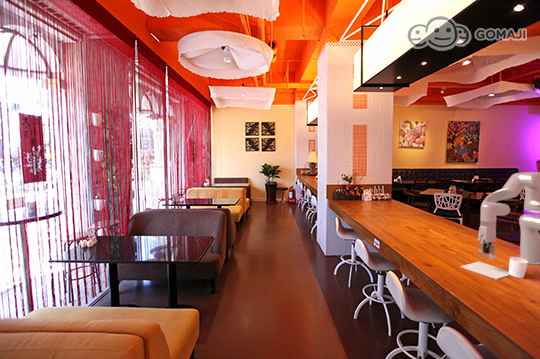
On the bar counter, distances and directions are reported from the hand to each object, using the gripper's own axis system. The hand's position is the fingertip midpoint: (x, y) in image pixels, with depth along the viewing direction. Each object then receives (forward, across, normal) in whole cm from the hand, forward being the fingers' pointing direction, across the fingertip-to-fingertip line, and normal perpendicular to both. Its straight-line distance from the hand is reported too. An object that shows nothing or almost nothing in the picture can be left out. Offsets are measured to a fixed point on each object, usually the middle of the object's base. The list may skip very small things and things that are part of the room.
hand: (487, 252), depth 166 cm
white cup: (+11, -6, +12) cm, 18 cm away
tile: (+3, 0, 0) cm, 3 cm away
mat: (+11, 0, 0) cm, 11 cm away
